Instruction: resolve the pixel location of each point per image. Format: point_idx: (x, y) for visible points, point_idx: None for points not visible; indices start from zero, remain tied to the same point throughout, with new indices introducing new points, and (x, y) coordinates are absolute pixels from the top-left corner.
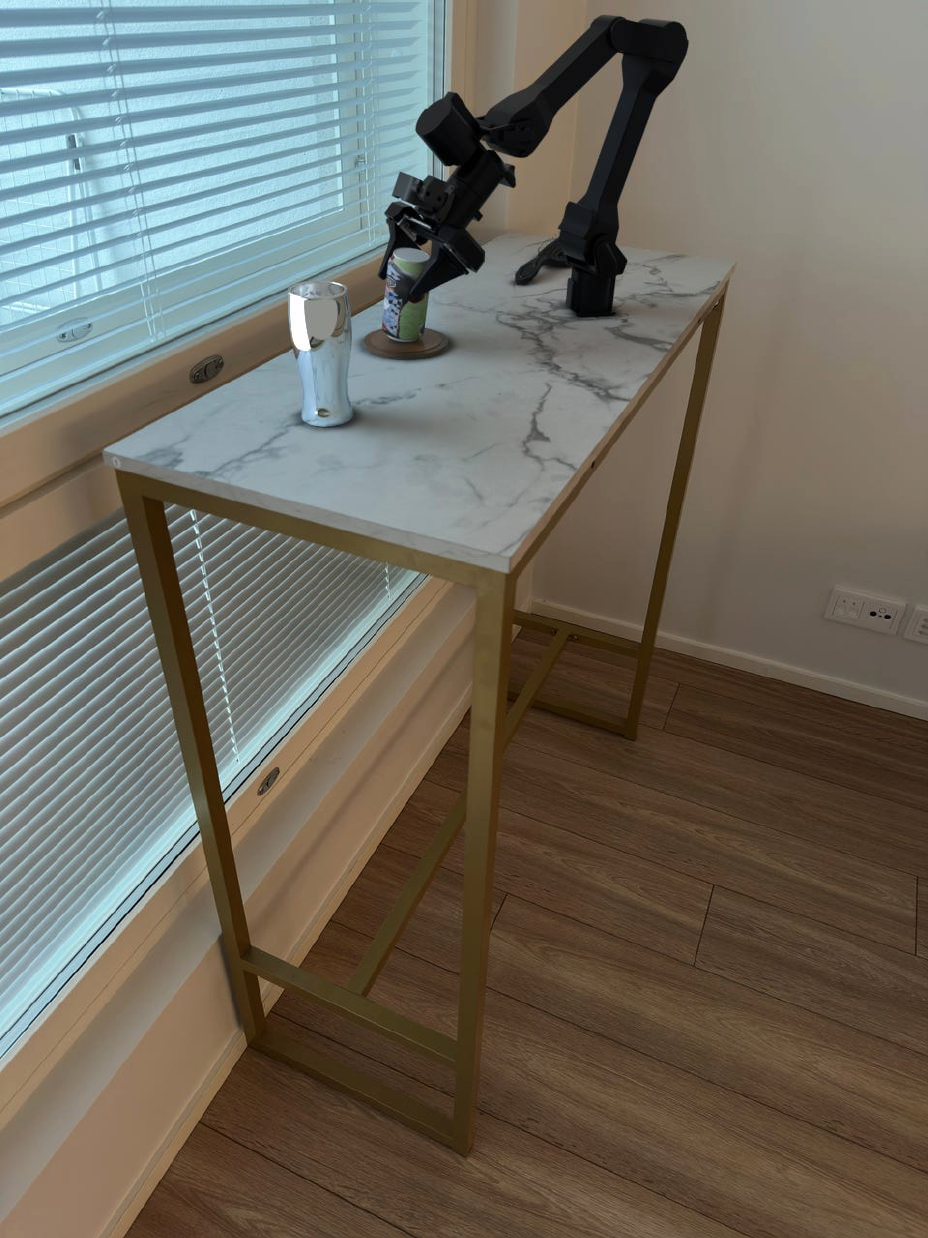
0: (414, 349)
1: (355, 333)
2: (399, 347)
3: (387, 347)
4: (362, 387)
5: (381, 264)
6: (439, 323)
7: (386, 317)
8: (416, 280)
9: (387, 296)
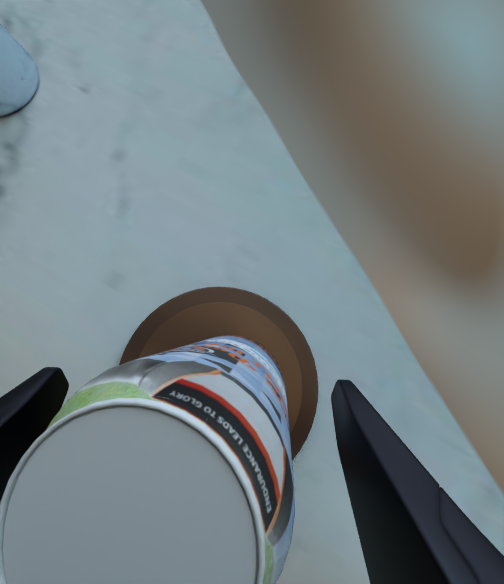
0: None
1: (339, 320)
2: (179, 343)
3: (194, 320)
4: (66, 186)
5: (376, 415)
6: (305, 547)
7: (220, 337)
8: (7, 413)
9: (212, 342)
